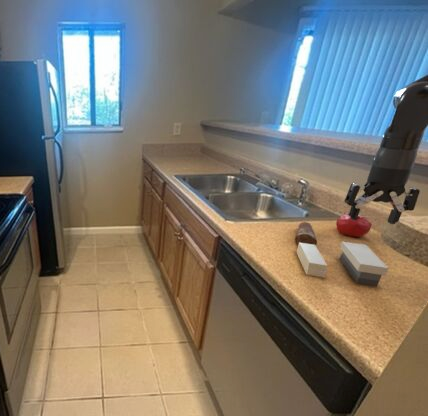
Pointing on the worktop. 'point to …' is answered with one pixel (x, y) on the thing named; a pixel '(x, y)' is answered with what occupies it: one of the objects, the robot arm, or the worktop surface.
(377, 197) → the robot arm
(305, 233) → the bread
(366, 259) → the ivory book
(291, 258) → the worktop surface
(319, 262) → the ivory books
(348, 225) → the pomegranate
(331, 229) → the worktop surface
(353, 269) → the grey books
